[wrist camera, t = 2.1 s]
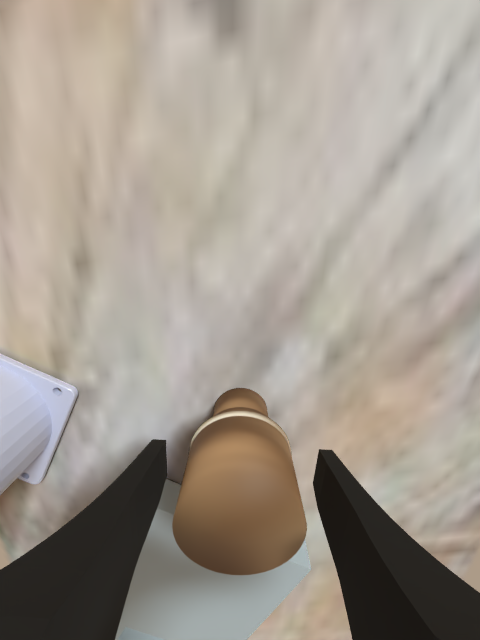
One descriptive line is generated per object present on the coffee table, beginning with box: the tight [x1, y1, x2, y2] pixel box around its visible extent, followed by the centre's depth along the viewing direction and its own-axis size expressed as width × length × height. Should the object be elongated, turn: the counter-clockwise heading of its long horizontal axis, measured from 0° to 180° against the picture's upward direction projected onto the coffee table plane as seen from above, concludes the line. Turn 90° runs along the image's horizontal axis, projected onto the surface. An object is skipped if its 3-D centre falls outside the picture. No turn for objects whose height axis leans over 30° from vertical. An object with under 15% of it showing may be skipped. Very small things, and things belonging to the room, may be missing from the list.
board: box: [115, 479, 311, 640], centre depth 20 cm, size 12×20×2 cm, turn 152°
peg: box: [172, 388, 307, 575], centre depth 13 cm, size 5×5×7 cm
